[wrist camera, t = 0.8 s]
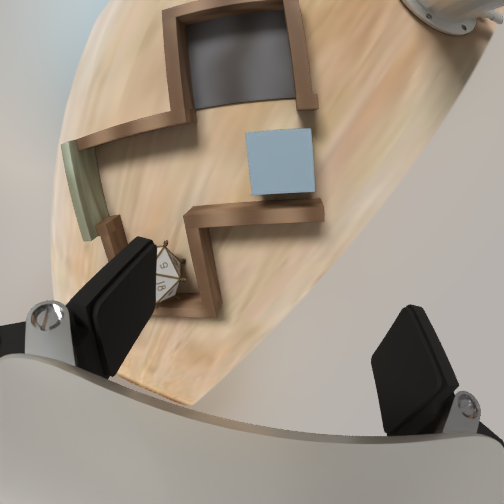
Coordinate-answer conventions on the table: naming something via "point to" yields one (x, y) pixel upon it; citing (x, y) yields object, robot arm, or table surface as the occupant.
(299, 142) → the slate block
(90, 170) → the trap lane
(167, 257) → the game die
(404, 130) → the table surface
